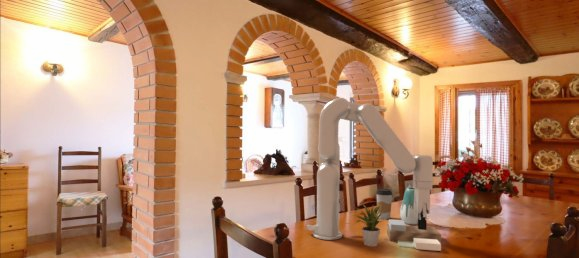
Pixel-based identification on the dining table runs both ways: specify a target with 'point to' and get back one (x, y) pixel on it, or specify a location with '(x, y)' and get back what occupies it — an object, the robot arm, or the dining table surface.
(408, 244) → the mat
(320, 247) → the dining table surface
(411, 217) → the vase
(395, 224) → the gray rectangular block
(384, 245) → the dining table surface
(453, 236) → the dining table surface
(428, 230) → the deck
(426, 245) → the cream block
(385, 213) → the coffee cup
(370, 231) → the house plant
